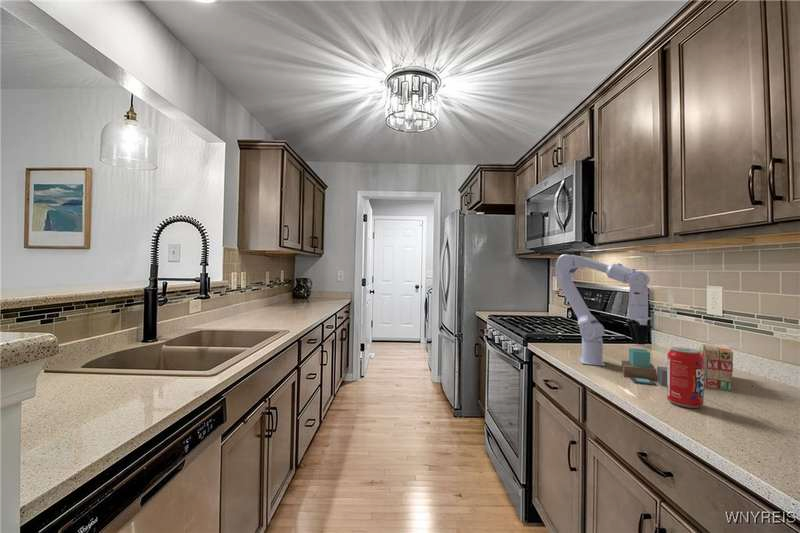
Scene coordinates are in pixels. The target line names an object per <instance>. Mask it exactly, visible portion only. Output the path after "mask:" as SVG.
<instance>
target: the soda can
mask: <svg viewBox="0 0 800 533" xmlns="http://www.w3.org/2000/svg"><path fill="white" fill-rule="evenodd" d="M666 355H667V360H666V363H667V364H666V367H667V386H666V398H667V400H668V401H669V402H671V403H672V404H673V405H676V406H677V407H682V408H687V409H697V408H701V407H703V406H704V403H705V399H704V398H705V397H704V396H705V392H704V391H705V389H704V388H705V383H704V357H703V356H702V355H701V351H700V349H699V350H698V349H695V348H689V347H682V346H679V347H678V346H672V347H670V350H669V351H668V352H667V354H666Z"/></svg>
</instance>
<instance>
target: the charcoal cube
mask: <svg viewBox="0 0 800 533" xmlns="http://www.w3.org/2000/svg"><path fill="white" fill-rule="evenodd" d="M656 382H657V383H658V384H659V385H660V386H661V387H667V366H657V368H656Z"/></svg>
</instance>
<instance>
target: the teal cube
mask: <svg viewBox="0 0 800 533" xmlns="http://www.w3.org/2000/svg"><path fill="white" fill-rule="evenodd" d="M628 361H629V363H630V364H631V365H632V366H638V367H650V363H651V352H650V351H649V350H647V349H643V348H641V349H640V348H630V347H629V348H628Z"/></svg>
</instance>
